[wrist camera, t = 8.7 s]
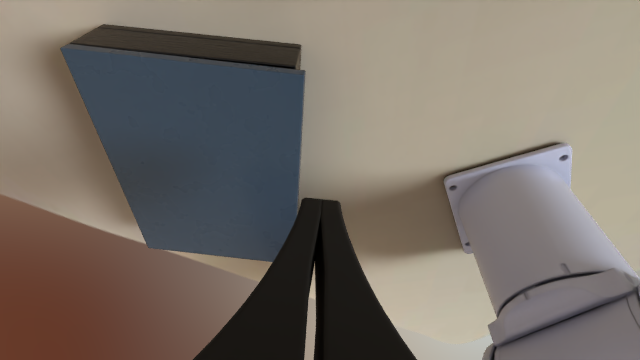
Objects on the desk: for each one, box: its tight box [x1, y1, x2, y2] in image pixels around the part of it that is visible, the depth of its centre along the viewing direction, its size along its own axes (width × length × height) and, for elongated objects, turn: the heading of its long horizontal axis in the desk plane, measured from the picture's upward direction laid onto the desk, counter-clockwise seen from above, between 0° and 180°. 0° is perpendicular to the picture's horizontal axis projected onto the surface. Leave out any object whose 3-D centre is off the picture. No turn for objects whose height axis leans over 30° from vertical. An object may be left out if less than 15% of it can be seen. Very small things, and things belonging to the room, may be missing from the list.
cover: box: [60, 44, 305, 262], centre depth 20 cm, size 11×15×1 cm
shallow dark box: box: [70, 24, 301, 70], centre depth 22 cm, size 11×15×3 cm
